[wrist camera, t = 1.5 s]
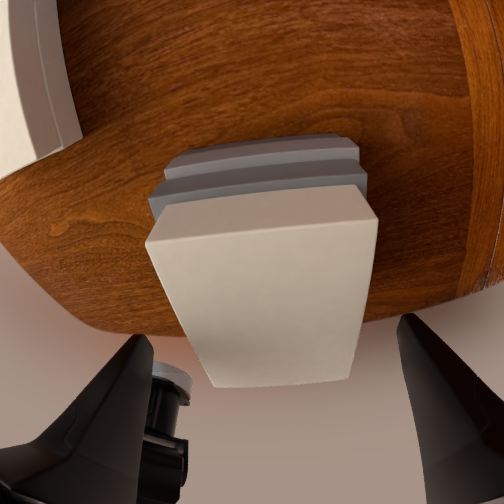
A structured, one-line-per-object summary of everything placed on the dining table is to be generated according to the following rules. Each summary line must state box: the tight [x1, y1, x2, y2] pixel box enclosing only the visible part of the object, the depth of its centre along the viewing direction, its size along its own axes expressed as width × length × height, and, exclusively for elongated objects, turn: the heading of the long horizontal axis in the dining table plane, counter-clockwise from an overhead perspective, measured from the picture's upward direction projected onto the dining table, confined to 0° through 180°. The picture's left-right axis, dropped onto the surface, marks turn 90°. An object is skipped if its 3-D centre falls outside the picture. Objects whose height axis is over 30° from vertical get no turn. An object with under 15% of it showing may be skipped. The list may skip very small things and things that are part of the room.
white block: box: [145, 184, 378, 388], centre depth 10 cm, size 8×6×2 cm
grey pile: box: [148, 133, 367, 222], centre depth 13 cm, size 9×7×4 cm
